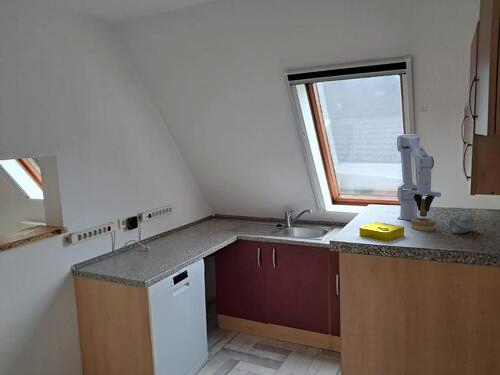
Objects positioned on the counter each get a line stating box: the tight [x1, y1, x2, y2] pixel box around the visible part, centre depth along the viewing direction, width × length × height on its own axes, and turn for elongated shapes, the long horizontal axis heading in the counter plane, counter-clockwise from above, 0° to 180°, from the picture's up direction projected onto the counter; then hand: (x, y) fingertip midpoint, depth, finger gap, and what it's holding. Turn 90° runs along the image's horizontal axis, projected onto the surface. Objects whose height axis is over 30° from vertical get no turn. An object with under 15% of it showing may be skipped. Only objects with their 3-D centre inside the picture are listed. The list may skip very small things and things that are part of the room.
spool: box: [448, 213, 475, 235], centre depth 186 cm, size 14×10×10 cm
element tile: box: [359, 221, 405, 242], centre depth 184 cm, size 15×15×5 cm
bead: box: [410, 217, 436, 232], centre depth 195 cm, size 10×10×4 cm
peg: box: [419, 198, 428, 218], centre depth 194 cm, size 3×3×8 cm
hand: (423, 210), depth 194 cm, fingers closed on peg, 3 cm apart
